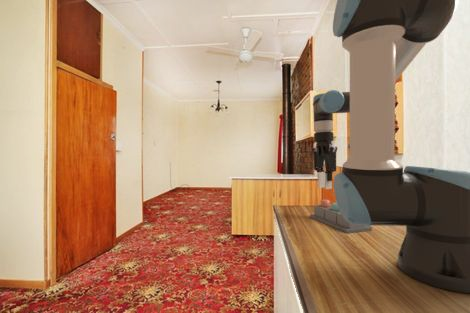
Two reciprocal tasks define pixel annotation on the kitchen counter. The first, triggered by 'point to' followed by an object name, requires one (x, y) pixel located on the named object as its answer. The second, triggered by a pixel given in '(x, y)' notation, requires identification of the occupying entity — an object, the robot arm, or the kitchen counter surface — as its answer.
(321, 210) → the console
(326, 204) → the salmon button
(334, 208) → the teal button
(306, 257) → the kitchen counter surface
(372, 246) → the kitchen counter surface
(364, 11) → the robot arm
